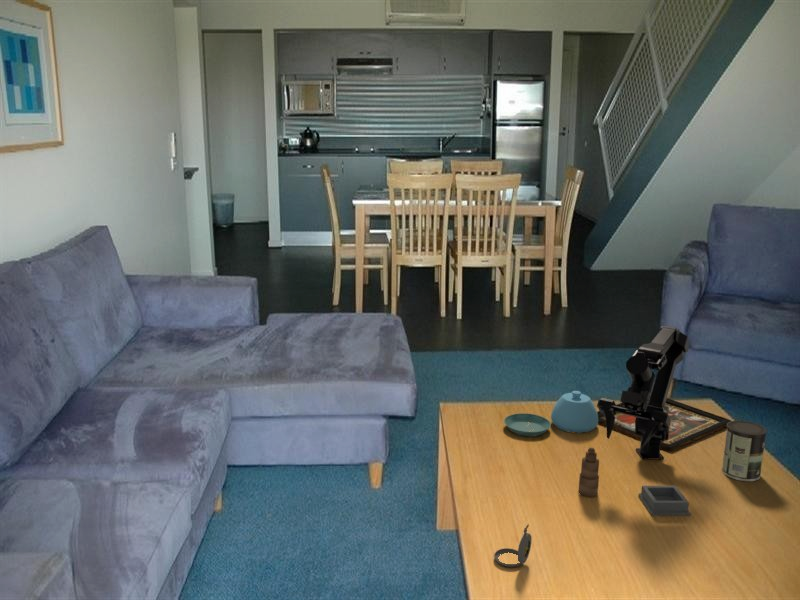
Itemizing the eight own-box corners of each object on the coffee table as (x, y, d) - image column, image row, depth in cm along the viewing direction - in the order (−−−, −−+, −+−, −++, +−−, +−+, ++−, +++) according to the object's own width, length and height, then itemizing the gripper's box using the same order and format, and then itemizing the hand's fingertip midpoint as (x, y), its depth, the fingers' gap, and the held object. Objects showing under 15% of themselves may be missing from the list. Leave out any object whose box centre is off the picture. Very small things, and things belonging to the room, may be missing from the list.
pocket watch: (491, 552, 178) (493, 513, 176) (527, 551, 179) (529, 512, 177) (498, 573, 171) (501, 532, 168) (536, 572, 171) (539, 531, 169)
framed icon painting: (639, 394, 280) (639, 387, 279) (736, 424, 256) (737, 416, 255) (581, 424, 254) (581, 416, 253) (682, 460, 230) (683, 451, 229)
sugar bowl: (549, 415, 259) (551, 382, 256) (595, 418, 257) (598, 385, 254) (551, 433, 245) (554, 398, 242) (600, 436, 243) (603, 402, 240)
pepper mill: (576, 488, 209) (579, 443, 206) (594, 488, 210) (598, 443, 206) (581, 497, 204) (584, 451, 201) (599, 497, 205) (603, 451, 201)
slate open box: (638, 496, 206) (639, 484, 205) (675, 495, 206) (676, 484, 205) (651, 515, 196) (652, 503, 195) (690, 515, 196) (691, 503, 196)
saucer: (495, 431, 246) (496, 423, 245) (516, 417, 257) (516, 409, 257) (538, 443, 237) (538, 435, 237) (557, 427, 249) (558, 420, 249)
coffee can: (755, 467, 224) (762, 421, 220) (764, 483, 214) (771, 436, 210) (717, 463, 226) (723, 418, 222) (725, 479, 216) (731, 432, 212)
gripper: (601, 370, 210) (584, 423, 204) (671, 384, 200) (655, 440, 194) (609, 386, 218) (593, 437, 213) (677, 401, 208) (661, 455, 203)
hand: (624, 442), depth 206 cm, fingers open, 9 cm apart
